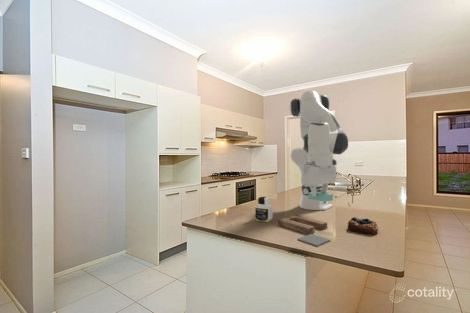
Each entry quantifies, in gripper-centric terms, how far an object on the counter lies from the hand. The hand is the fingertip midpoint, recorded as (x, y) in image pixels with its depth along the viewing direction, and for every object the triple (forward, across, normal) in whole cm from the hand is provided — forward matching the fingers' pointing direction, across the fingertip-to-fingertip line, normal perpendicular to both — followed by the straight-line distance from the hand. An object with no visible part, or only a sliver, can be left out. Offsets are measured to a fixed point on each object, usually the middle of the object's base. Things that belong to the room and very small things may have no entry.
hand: (319, 195), depth 97 cm
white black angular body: (+18, +4, +35) cm, 40 cm away
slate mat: (+18, -3, +1) cm, 18 cm away
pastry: (+18, +25, -6) cm, 32 cm away
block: (+2, 0, 0) cm, 2 cm away
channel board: (+18, +9, +15) cm, 25 cm away
